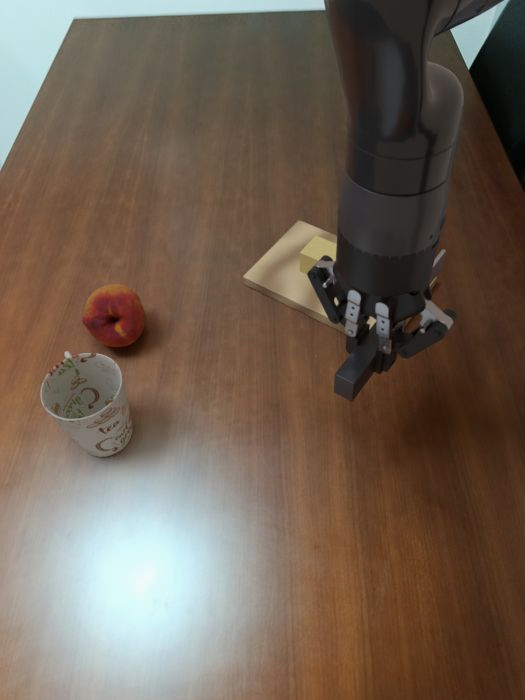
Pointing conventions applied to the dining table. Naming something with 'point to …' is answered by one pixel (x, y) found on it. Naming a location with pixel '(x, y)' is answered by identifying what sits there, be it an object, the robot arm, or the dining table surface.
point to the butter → (316, 253)
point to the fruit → (114, 315)
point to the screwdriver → (367, 355)
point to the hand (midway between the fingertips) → (370, 360)
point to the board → (294, 274)
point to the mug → (89, 402)
